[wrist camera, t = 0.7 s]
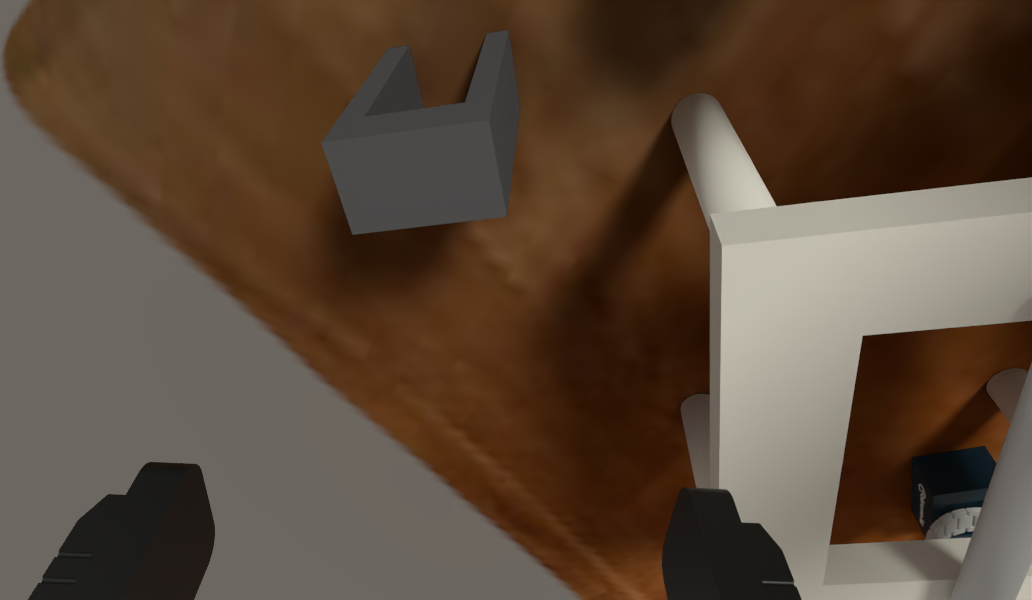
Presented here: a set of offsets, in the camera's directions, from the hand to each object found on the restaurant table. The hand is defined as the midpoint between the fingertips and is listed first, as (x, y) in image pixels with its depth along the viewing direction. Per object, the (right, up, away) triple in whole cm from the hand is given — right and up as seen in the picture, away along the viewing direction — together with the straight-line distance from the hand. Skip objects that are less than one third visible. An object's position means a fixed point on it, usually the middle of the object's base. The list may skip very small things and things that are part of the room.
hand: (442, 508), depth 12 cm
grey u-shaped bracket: (-2, +14, +21) cm, 25 cm away
